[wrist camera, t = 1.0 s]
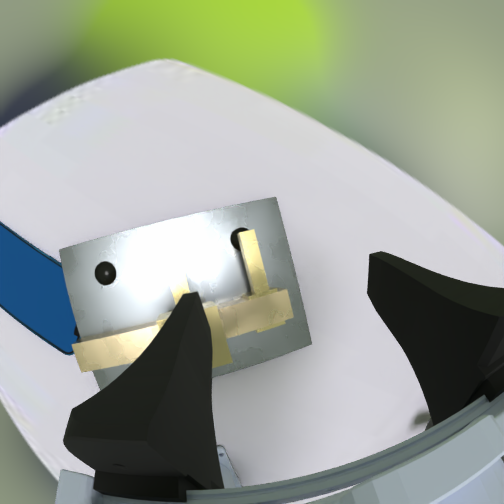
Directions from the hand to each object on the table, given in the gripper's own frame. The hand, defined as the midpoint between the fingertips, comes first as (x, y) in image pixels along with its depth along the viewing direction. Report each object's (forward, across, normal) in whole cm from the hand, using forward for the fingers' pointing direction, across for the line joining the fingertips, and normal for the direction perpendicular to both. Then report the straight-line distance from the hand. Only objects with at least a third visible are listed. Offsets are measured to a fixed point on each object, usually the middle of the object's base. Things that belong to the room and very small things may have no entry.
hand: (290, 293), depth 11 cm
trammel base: (+10, +7, +7) cm, 14 cm away
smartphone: (+10, +22, +2) cm, 24 cm away
